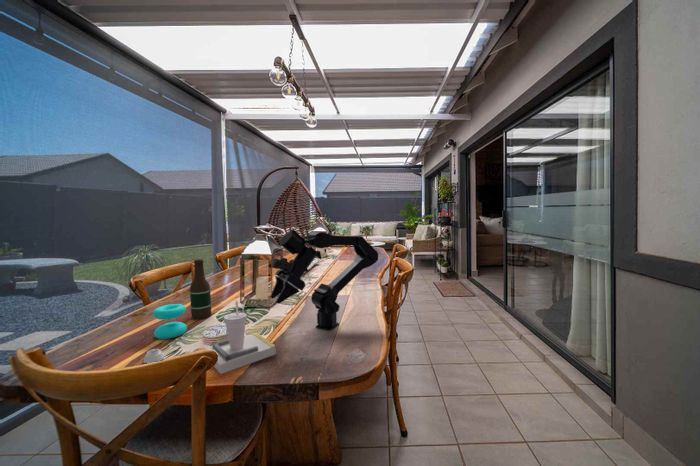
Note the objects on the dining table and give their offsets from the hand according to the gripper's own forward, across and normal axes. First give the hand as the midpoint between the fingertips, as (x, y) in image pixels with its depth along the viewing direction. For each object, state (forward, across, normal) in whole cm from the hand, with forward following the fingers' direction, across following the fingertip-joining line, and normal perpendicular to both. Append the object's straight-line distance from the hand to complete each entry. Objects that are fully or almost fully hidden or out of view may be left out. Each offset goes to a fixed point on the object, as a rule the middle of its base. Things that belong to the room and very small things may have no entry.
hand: (274, 300), depth 99 cm
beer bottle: (+23, -39, -10) cm, 46 cm away
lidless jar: (+33, -3, -18) cm, 38 cm away
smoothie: (+17, +6, -2) cm, 18 cm away
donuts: (+30, -23, -17) cm, 42 cm away
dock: (+18, +6, 0) cm, 19 cm away
